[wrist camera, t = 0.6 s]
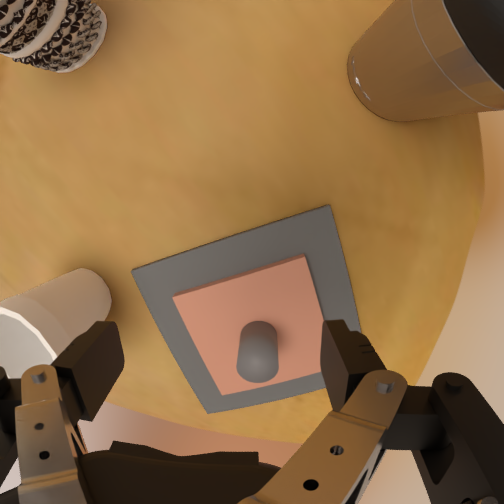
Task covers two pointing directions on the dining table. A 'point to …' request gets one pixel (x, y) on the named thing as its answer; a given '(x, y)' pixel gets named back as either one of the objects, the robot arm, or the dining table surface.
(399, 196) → the dining table surface
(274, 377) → the lid
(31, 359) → the foam cup
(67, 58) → the decorative candle
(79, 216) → the dining table surface
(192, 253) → the mat
